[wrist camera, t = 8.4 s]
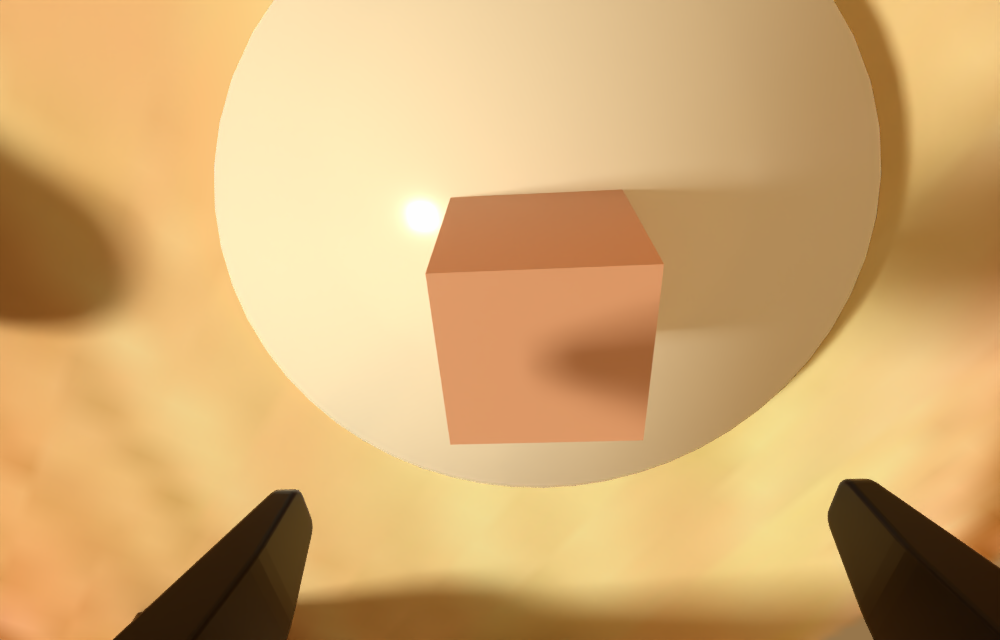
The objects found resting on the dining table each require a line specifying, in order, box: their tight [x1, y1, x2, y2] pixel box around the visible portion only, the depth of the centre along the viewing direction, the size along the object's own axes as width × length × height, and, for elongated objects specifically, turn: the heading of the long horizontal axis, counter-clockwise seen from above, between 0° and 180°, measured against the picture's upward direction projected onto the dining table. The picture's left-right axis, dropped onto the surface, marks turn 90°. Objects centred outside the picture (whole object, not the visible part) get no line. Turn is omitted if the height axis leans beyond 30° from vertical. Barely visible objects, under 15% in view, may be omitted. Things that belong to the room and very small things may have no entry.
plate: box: [214, 0, 881, 488], centre depth 17 cm, size 20×20×1 cm
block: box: [425, 190, 664, 445], centre depth 14 cm, size 5×5×5 cm
